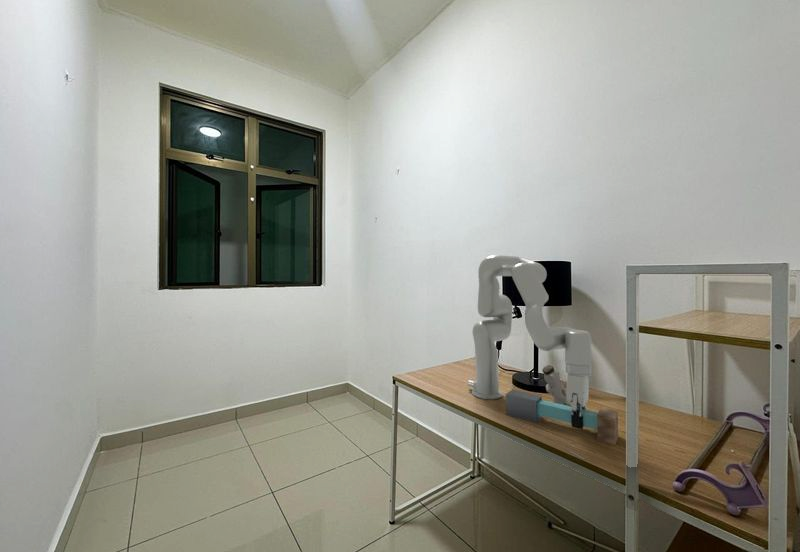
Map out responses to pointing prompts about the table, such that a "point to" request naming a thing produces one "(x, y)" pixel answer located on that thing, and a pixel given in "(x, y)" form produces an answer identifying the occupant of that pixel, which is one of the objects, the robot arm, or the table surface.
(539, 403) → the light blue long bar
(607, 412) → the brown rectangular block
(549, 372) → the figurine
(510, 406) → the sleeve
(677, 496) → the table surface
